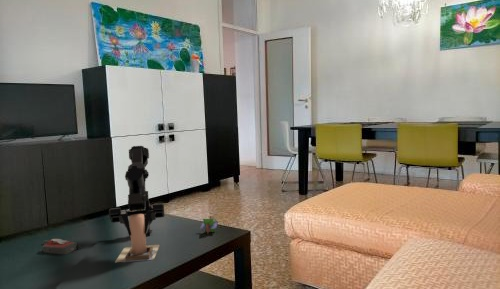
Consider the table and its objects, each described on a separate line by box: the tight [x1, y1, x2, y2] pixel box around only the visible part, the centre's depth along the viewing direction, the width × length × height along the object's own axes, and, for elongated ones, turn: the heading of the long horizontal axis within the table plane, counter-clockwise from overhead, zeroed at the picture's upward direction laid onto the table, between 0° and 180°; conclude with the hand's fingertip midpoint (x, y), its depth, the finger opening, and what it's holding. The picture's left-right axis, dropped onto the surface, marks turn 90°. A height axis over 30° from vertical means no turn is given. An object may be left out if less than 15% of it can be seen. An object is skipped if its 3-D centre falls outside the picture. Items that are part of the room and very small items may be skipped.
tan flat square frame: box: [114, 244, 161, 263], centre depth 133 cm, size 15×13×1 cm
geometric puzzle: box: [199, 215, 219, 235], centre depth 155 cm, size 7×7×8 cm
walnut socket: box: [125, 247, 153, 261], centre depth 131 cm, size 8×8×2 cm
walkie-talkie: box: [42, 238, 81, 255], centre depth 145 cm, size 9×4×20 cm
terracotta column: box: [128, 214, 147, 255], centre depth 130 cm, size 5×5×13 cm
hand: (137, 234), depth 129 cm, fingers closed on terracotta column, 5 cm apart
